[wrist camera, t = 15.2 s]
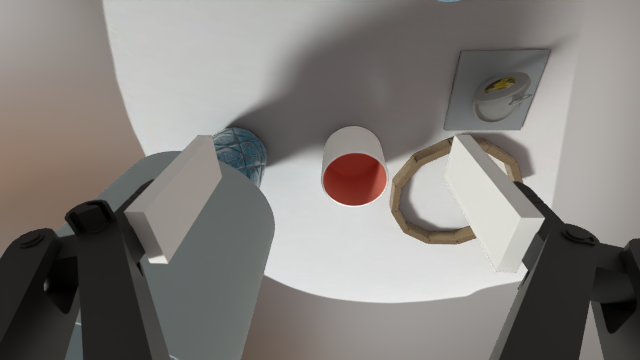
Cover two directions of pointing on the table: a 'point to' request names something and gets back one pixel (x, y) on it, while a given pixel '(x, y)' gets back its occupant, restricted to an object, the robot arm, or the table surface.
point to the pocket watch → (500, 97)
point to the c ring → (428, 156)
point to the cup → (353, 167)
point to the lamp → (206, 254)
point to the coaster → (483, 68)
